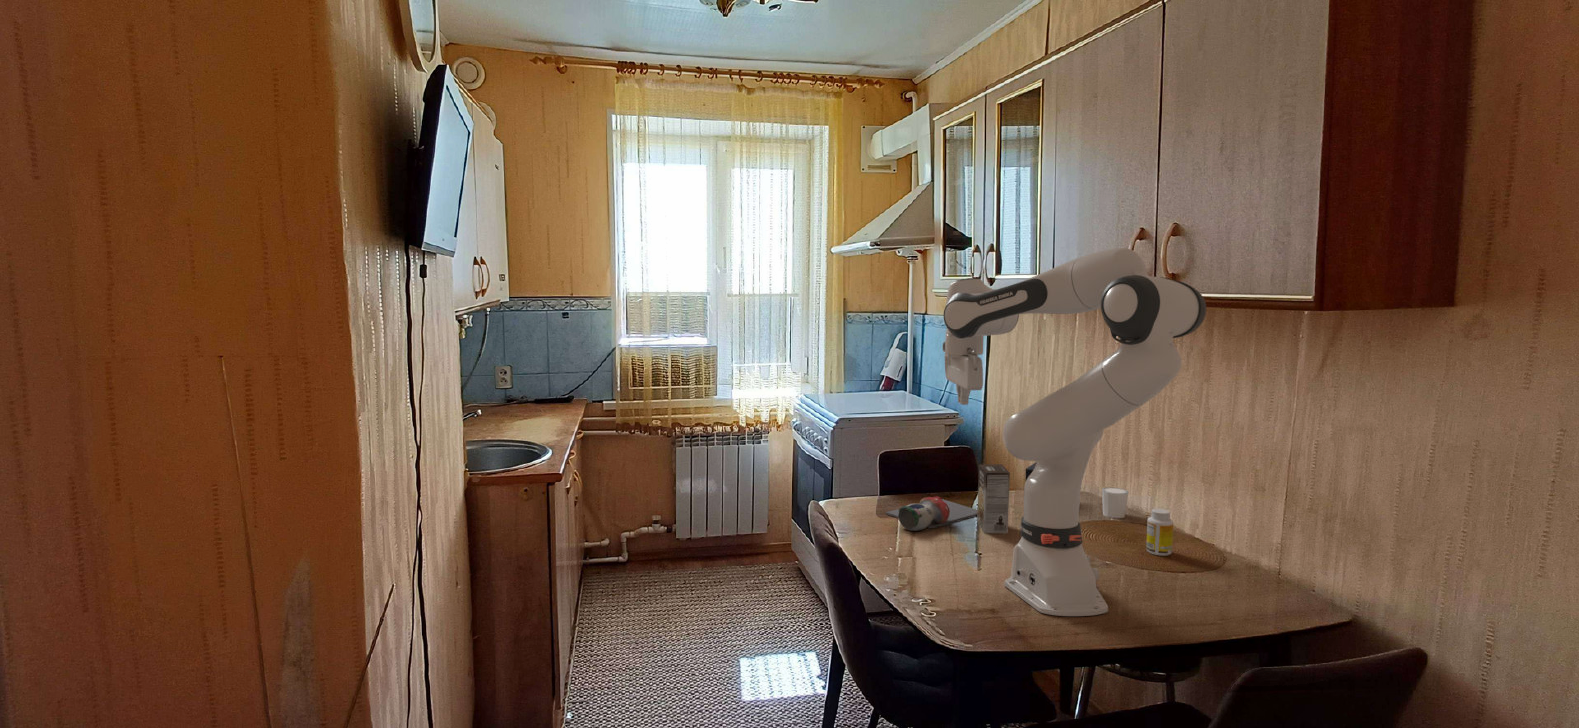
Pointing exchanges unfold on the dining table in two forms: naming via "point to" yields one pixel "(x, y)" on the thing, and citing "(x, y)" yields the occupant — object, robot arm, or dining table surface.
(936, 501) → the decorative ornament
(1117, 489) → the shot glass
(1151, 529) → the supplement bottle
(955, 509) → the mat
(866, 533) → the dining table surface
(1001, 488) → the coffee box
